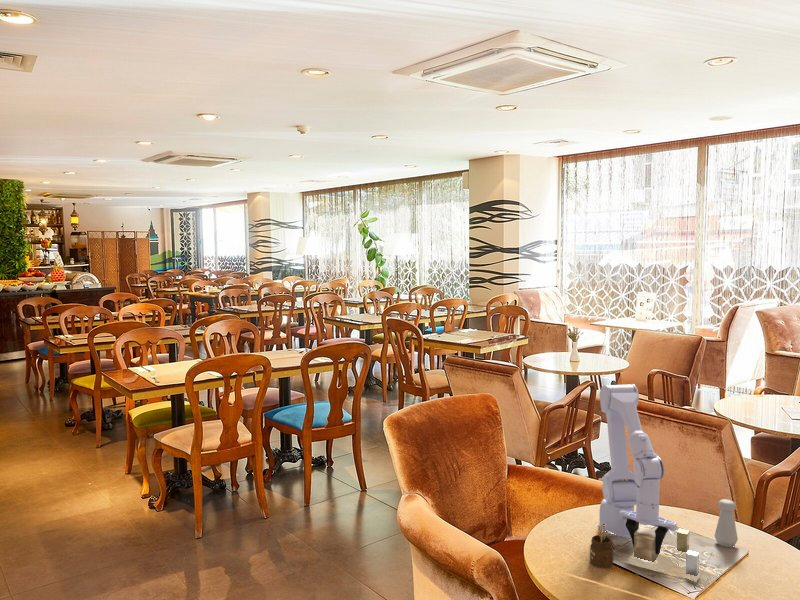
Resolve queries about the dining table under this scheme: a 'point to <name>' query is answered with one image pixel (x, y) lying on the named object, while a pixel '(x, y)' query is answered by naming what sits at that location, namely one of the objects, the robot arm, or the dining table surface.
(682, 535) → the brass post
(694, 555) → the steel post
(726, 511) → the salt shaker
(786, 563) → the dining table surface
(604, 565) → the utensil holder
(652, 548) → the wood block
